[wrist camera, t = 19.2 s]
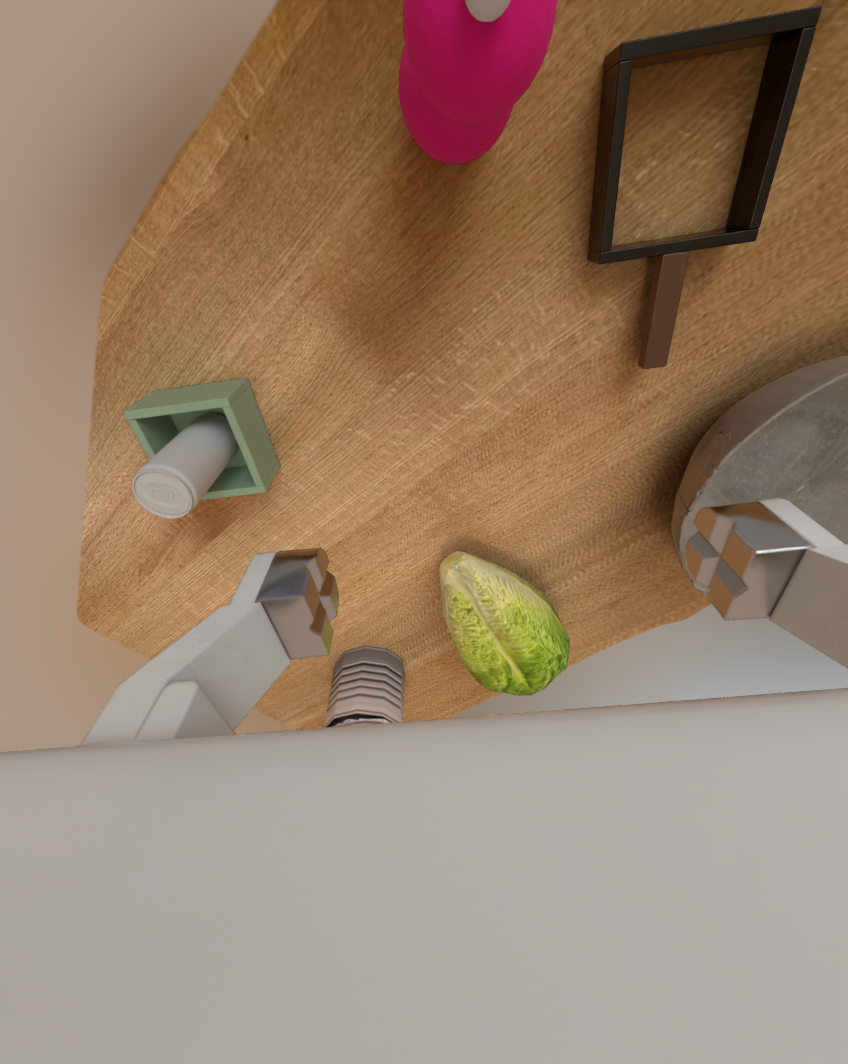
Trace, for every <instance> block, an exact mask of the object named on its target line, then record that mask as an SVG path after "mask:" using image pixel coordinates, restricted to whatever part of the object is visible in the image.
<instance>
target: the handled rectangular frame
mask: <svg viewBox="0 0 848 1064" xmlns="http://www.w3.org/2000/svg"><path fill="white" fill-rule="evenodd" d="M821 8H822V6H816V7H811V8H806V9H800V10H795V11H789V12H784V13H779V14H773V15H768V16H763V17H757V18H752V19H746V20H741V21H736V22H730V23H725V24H719V25H714V26H709V27H703V28H698V29H693V30H687V31H682V32H676V33H671V34H666V35H660V36H655V37H649V38H644V39H639V40H633V41H628V42H623V43H621V44H620V45H619V46H618V47H616V48H615V49H614V50H613V51H612V52H610V53H609V54H608V55H607V56H606V57H605V61H604V75H603V86H602V97H601V109H600V121H599V132H598V144H597V155H596V167H595V179H594V190H593V202H592V213H591V225H590V236H589V248H588V249H589V251H588V261H590V262H594V263H597V264H605V263H612V262H619V261H625V260H632V259H639V258H645V257H652V256H656V261H655V267H654V273H653V279H652V285H651V290H650V296H649V302H648V308H647V314H646V320H645V326H644V332H643V338H642V344H641V350H640V356H639V362H638V366H639V367H641V368H642V369H649V368H657V367H664V366H666V364H667V359H668V354H669V349H670V345H671V340H672V335H673V330H674V325H675V320H676V316H677V311H678V306H679V301H680V296H681V291H682V287H683V282H684V277H685V272H686V267H687V262H688V258H689V253H690V251H692V250H699V249H705V248H712V247H718V246H725V245H732V244H738V243H745V242H752V241H755V240H756V238H757V234H758V231H759V229H758V228H759V227H760V224H761V220H762V217H763V213H764V210H765V206H766V202H767V199H768V195H769V192H770V188H771V185H772V181H773V178H774V174H775V171H776V167H777V163H778V160H779V156H780V153H781V149H782V146H783V142H784V139H785V135H786V132H787V128H788V124H789V121H790V117H791V114H792V110H793V107H794V103H795V100H796V96H797V93H798V89H799V85H800V82H801V78H802V75H803V71H804V68H805V64H806V61H807V57H808V54H809V50H810V46H811V43H812V39H813V36H814V32H815V29H816V27H815V26H816V25H817V22H818V19H819V15H820V12H821ZM771 43H772V44H771ZM765 44H771V46H770V50H769V54H768V58H767V62H766V66H765V70H764V74H763V78H762V82H761V87H760V91H759V95H758V99H757V103H756V107H755V111H754V115H753V119H752V124H751V128H750V132H749V136H748V140H747V144H746V148H745V152H744V156H743V160H742V165H741V169H740V173H739V177H738V181H737V185H736V189H735V193H734V197H733V202H732V206H731V210H730V214H729V218H728V222H727V226H726V228H727V229H720V230H714V231H707V232H701V233H694V234H688V235H681V236H675V237H668V238H662V239H655V240H648V241H642V242H635V243H629V244H622V245H616V246H611V245H612V236H613V227H614V219H615V210H616V201H617V192H618V183H619V174H620V166H621V157H622V148H623V139H624V130H625V121H626V113H627V104H628V95H629V86H630V77H631V69H633V68H639V67H644V66H650V65H655V64H661V63H666V62H672V61H677V60H683V59H688V58H694V57H699V56H705V55H710V54H716V53H721V52H727V51H732V50H738V49H743V48H749V47H754V46H760V45H765Z"/></svg>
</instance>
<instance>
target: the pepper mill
mask: <svg viewBox="0 0 848 1064" xmlns="http://www.w3.org/2000/svg"><path fill="white" fill-rule="evenodd" d="M556 5H557V0H403V32H404V38H405V45H404V49H403V53H402V57H401V63H400V72H399V96H400V104H401V108H402V113H403V117H404V120H405V122H406V125H407V127H408V130H409V132H410V133H411V135H412V137H413V139H414V140H415V142H416V143H417V144H418V145H419V147H420V148H421V149H422V150H423V151H424V152H425V153H427V154H428V155H429V156H430V157H432V158H434V159H436V160H438V161H440V162H443V163H447V164H463V163H467V162H470V161H473V160H475V159H476V158H478V157H480V156H481V155H483V154H484V153H485V152H486V151H488V150H489V149H490V148H491V147H492V145H493V144H494V143H495V142H496V141H497V139H498V138H499V136H500V135H501V133H502V132H503V130H504V128H505V126H506V124H507V122H508V119H509V116H510V114H511V111H512V108H513V105H514V104H515V103H516V102H517V101H518V100H519V99H520V98H521V96H522V95H523V94H524V92H525V91H526V90H527V89H528V87H529V86H530V85H531V83H532V81H533V80H534V78H535V76H536V74H537V72H538V71H539V69H540V66H541V64H542V62H543V59H544V57H545V55H546V52H547V49H548V46H549V43H550V39H551V36H552V32H553V26H554V21H555V15H556Z"/></svg>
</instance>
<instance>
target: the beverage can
mask: <svg viewBox="0 0 848 1064" xmlns="http://www.w3.org/2000/svg"><path fill="white" fill-rule="evenodd" d="M238 450H239V445H238V443H237V441H236V438H235V436H234V434H233V431H232V429H231V427H230V424H229V422H228V420H227V418H226V417H224V416H222V415H219V414H214V413H208V414H203V415H200V416H198V417H197V418H196V419H194V420H193V421H192V422H191V423H190V424H189V425H188V426H187V427H186V428H185V429H184V430H182V431H181V432H180V433H179V434H178V435H177V436H176V437H175V438H174V439H173V440H172V441H170V442H169V443H168V444H167V445H166V446H165V447H164V448H163V449H162V450H160V451H159V452H158V453H157V454H156V455H155V456H154V457H153V458H151V459H150V460H149V461H148V462H147V463H146V464H145V465H144V466H143V467H142V468H141V469H140V470H139V471H138V472H137V473H136V476H135V477H134V478H133V481H132V492H133V495H134V497H135V498H136V500H137V502H138V503H139V504H140V505H141V506H142V507H143V508H145V509H146V510H148V511H149V512H151V513H153V514H155V515H157V516H160V517H164V518H179V517H182V516H185V515H186V514H187V513H188V512H190V511H191V510H192V509H193V508H195V506H196V505H197V504H198V502H199V501H200V500H201V499H202V497H203V496H204V495H205V493H206V492H207V491H208V489H209V488H210V487H211V485H212V484H213V483H214V481H215V480H216V479H217V478H218V476H219V475H220V474H221V472H222V471H223V470H224V468H225V467H226V466H227V464H228V463H229V462H230V461H231V459H232V458H233V457H234V455H235V454H236V453H237V451H238Z"/></svg>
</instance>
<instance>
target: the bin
mask: <svg viewBox="0 0 848 1064" xmlns="http://www.w3.org/2000/svg"><path fill="white" fill-rule="evenodd" d="M122 413H123V415H124V416H125V418H126V420H127V422H128V423H129V425H130V427H131V429H132V430H133V432H134V434H135V435H136V437H137V439H138V441H139V442H140V444H141V446H142V448H143V449H144V451H145V453H146V454H147V456H148V458H149V460H150V459H151V458H153V457H154V456H155V455H156V454H157V453H158V452H159V451H160V450H162V449H163V448H164V447H165V446H166V445H167V444H168V443H169V442H170V441H172V440H173V439H174V438H175V437H176V436H177V435H178V434H179V433H180V432H181V431H182V430H184V429H185V428H186V427H187V426H188V425H189V424H190V423H191V422H192V421H193V420H194V419H196V418H197V417H198V416H200V415H203V414H208V413H214V414H219V415H222V416H224V417H226V418H227V420H228V422H229V424H230V427H231V429H232V431H233V434H234V436H235V438H236V441H237V443H238V445H239V450H238V451H237V453H236V454H235V455H234V457H233V458H232V459H231V461H230V462H229V463H228V464H227V466H226V467H225V468H224V470H223V471H222V472H221V474H220V475H219V476H218V478H217V479H216V480H215V481H214V483H213V484H212V485H211V487H210V488H209V489H208V491H207V492H206V493H205V495H204V496H203V497H202V499H201V500H206V499H215V498H223V497H231V496H240V495H248V494H256V493H265V492H267V490H268V488H269V486H270V485H271V483H272V481H273V479H274V477H275V475H276V474H277V472H278V470H279V468H280V466H281V465H280V463H279V460H278V457H277V455H276V452H275V449H274V447H273V444H272V441H271V439H270V436H269V433H268V431H267V428H266V425H265V423H264V420H263V417H262V415H261V412H260V409H259V407H258V404H257V401H256V399H255V396H254V393H253V391H252V388H251V385H250V383H249V380H248V378H242V379H235V380H228V381H221V382H214V383H206V384H199V385H192V386H185V387H178V388H171V389H164V390H156V391H152V392H151V393H150V394H148V395H147V396H145V397H144V398H142V399H141V400H139V401H138V402H136V403H135V404H133V405H132V406H130V407H129V408H127V409H126V410H124V411H123V412H122Z"/></svg>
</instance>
